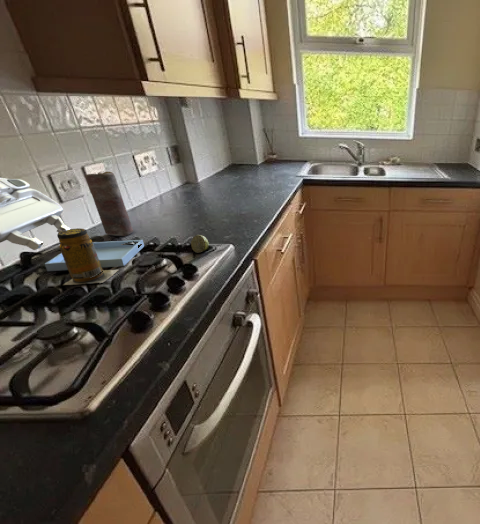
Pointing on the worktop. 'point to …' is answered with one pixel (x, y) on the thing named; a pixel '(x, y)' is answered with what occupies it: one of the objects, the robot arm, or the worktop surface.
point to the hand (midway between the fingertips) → (54, 239)
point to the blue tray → (103, 255)
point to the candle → (109, 203)
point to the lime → (199, 243)
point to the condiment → (81, 258)
